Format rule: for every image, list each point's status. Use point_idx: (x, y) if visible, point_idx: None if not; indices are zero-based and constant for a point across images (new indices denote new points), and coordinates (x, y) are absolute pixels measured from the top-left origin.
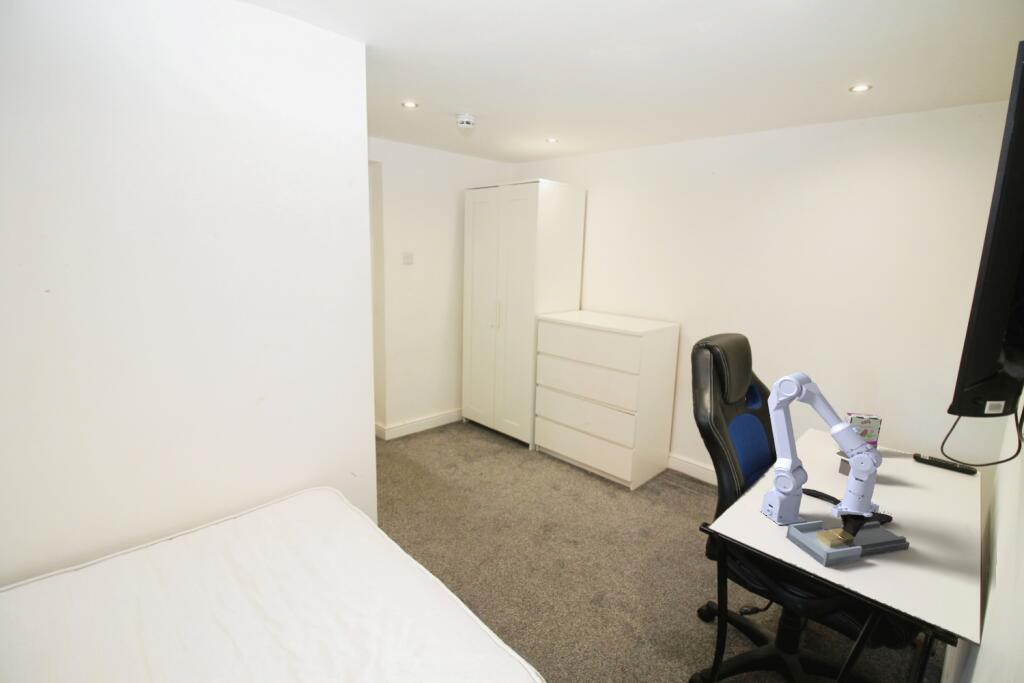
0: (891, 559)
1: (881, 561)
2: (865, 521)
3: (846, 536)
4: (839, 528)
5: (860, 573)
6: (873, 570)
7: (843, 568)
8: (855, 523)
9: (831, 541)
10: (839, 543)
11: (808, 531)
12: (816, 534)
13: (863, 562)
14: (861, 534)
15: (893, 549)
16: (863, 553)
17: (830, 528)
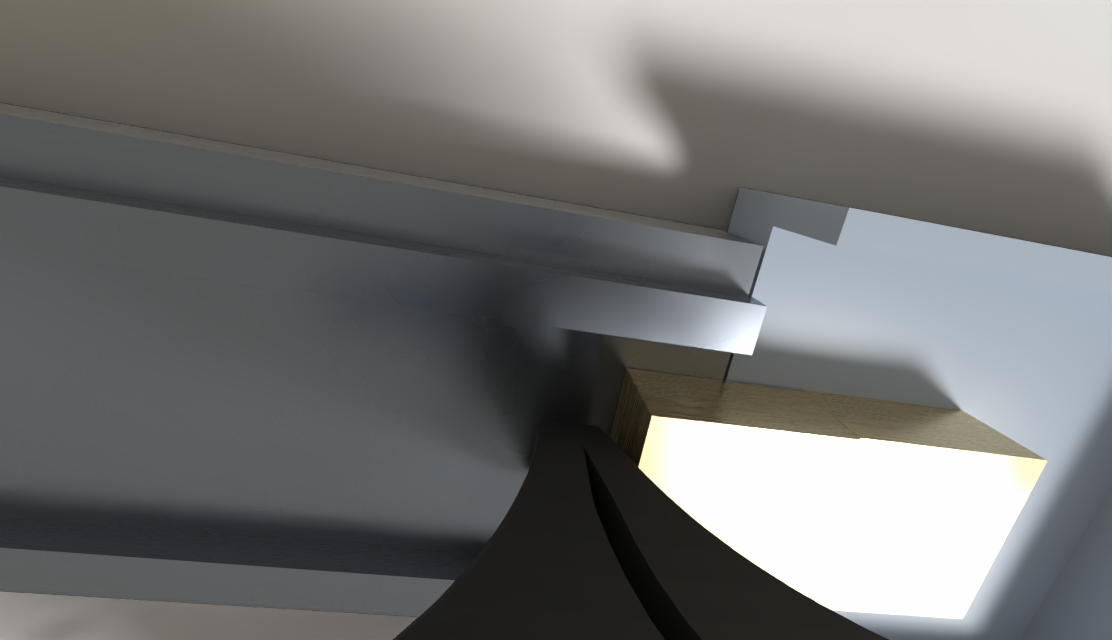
0: (306, 33)
1: (490, 67)
2: (547, 635)
3: (751, 456)
4: None
5: (977, 41)
6: (783, 4)
7: (1032, 174)
8: (880, 638)
9: (1029, 451)
10: (857, 409)
11: None
12: None
13: (723, 148)
14: (295, 447)
15: (79, 120)
16: (633, 219)
17: None
